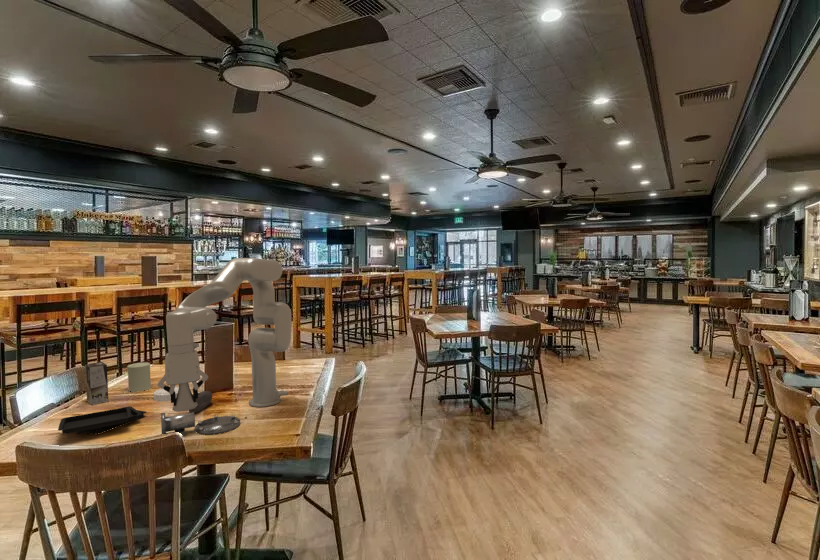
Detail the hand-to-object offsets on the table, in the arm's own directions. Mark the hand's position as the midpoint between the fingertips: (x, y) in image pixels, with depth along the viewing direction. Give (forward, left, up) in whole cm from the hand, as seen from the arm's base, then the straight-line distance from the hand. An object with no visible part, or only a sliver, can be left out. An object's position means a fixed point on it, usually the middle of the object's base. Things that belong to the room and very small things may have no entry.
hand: (184, 402), depth 142 cm
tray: (+25, -30, -14) cm, 42 cm away
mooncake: (+4, -58, -14) cm, 59 cm away
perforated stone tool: (-7, -34, -14) cm, 37 cm away
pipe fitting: (-5, -10, -14) cm, 18 cm away
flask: (0, 0, -2) cm, 2 cm away
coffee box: (+31, -68, -14) cm, 76 cm away
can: (+16, -79, -14) cm, 81 cm away
